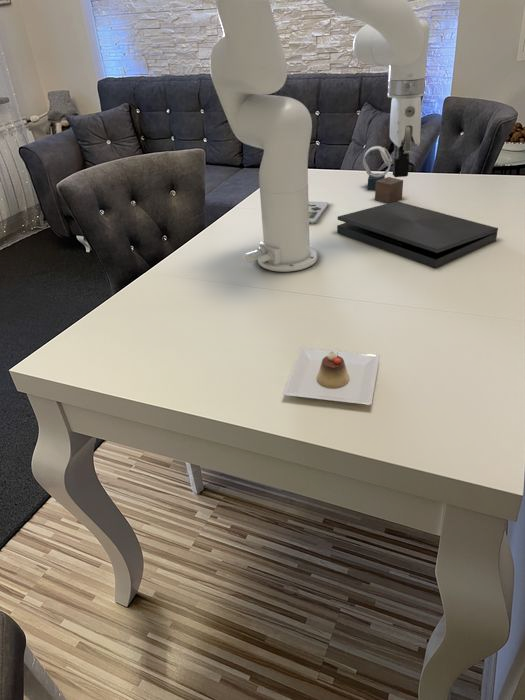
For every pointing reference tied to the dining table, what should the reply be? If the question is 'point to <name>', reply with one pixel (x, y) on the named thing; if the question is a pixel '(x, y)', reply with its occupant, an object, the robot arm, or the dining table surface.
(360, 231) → the laptop
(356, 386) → the dessert
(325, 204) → the handheld gaming device
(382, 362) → the dining table surface
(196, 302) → the dining table surface
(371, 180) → the watch
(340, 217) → the laptop screen
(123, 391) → the dining table surface
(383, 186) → the block
